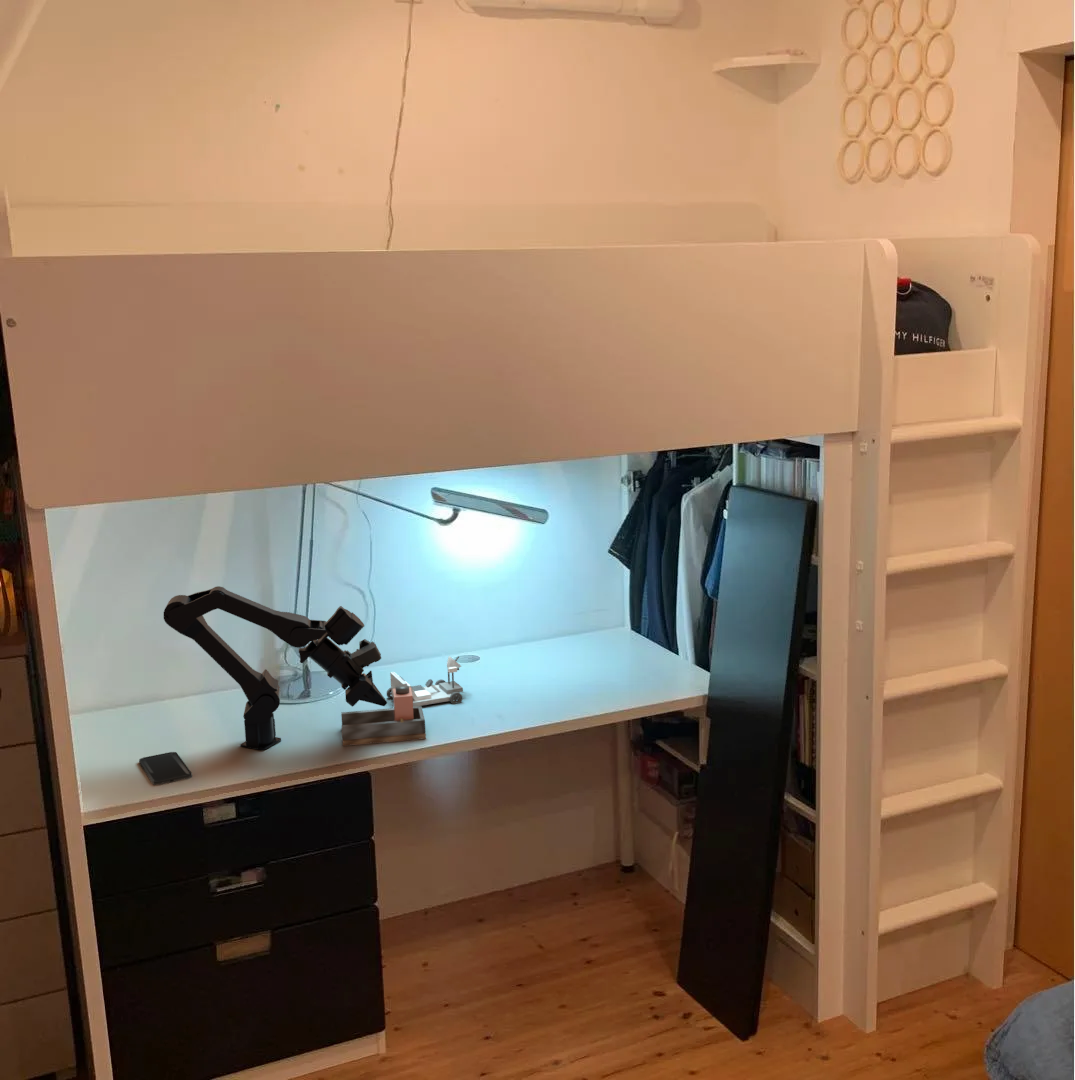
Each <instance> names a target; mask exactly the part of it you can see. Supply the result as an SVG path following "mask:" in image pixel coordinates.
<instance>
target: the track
mask: <svg viewBox="0 0 1075 1080" xmlns="http://www.w3.org/2000/svg"><path fill="white" fill-rule="evenodd" d="M422 706H423V705H422ZM422 706H414V707H413V717H414V719H412V720H403V718H400V721H394V707H391V708H377V709H368V710H367V709H366V710H354V711H341V713H340V714H341V715H340V716H341V733H342V736H341V737H342V746H344V747H345V746H346V747H347V746H355V745H357V746H359V745H368V744H369V745H370V744H379V743H380V744H381V743H390V742H393V743H394V742H401V741H414V740H426V739H427V734H426V720H425V715H424V711H423V707H422Z"/></svg>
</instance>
